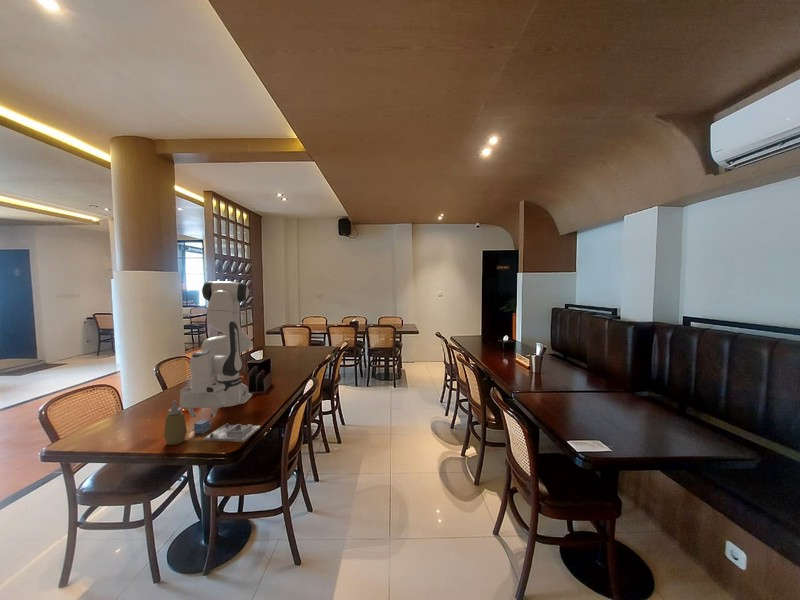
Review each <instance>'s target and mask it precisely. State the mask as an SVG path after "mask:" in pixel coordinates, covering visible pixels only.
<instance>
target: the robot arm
mask: <svg viewBox="0 0 800 600" xmlns="http://www.w3.org/2000/svg"><path fill="white" fill-rule="evenodd" d="M201 288H202V289H201V292H202V297H203V298H204V299H205V300H206V301H208V305H207V311H206V312H207V313H206V321H207V324H208V326H209V327H210V328H212V329H214V330H215V331H218V332H220V333H222V334H224V335H217V336H216V335H215V336H212V337H208V338H205V339H204V340H203V342H202V344H201V350H198V351H196V352H193V353H192V354H191V356H190V360H189V373H190V376H191V377H190V386H184V387H182V388H181V389H180V390H179V392H180V396H179V407H180V408H181V409H187V411H188V414H190V418H196V417H197V412H196V411H194V409H212V412H211V413H210V418H215V417H216V416H217V411H218V410H219V409H221V408H227V407H233V406H238V405H243V404H245V403H247V402H248V401H249V400H250V399H251V398H252V396H253V395H254V394H252V393H248V385H246V384H244V383H243V382H242V380H244V375H240V371H241V370H242V367H243V362H242V361H243V360H242V357H241V353H242V352H245V351H248V350H249V349H250V348H251V346H252V339H251V338H250V335H248V334H246V332H244V331H243V329H242V327H241V324H240V311H241V310H240V308H241V307H240V304H242V302H245V301H246V300H247V299H248V297H249V294H250V290H249V287H248V285H247V283H244V282H241V281H240V282H237V281H229V280H227V281H224V280H223V281H221V280H220V281H219V280H218V281H214V280H209V281H205V282H204V284H203V286H202V287H201ZM213 376H216V378H217V379H216V381H215V380H214V377H213Z"/></svg>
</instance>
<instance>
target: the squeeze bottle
mask: <svg viewBox="0 0 800 600" xmlns="http://www.w3.org/2000/svg"><path fill="white" fill-rule="evenodd" d="M167 413H168V414H167V415H166V416H165V422H164V431H163V432H164V434H163V437H164V440H165V441H166V445H168V446H173V445H179V444H181V443H183V442H184V441H185V439H186V436H187V433H188V431H187V424H186V419H185V418H186V417H185V413H184V412H182V408H181V407H180V406H178V403H177V400H173V401H172V403H171V408H169V409H168V410H167Z"/></svg>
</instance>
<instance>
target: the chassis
mask: <svg viewBox="0 0 800 600" xmlns="http://www.w3.org/2000/svg"><path fill="white" fill-rule="evenodd" d="M260 429H261V425H253V424H250V423H249V424H246V425H245V424H244V425H243V424H242V423H237V424H229V423H228V422H227V423H225V424H223V425H221V426H220V427H218V428H217V429H215V430H214V431H212V432H210V434H208V435H207V436H205V437H204V438H203V441H209V442H211V441H212V442H235V443H236V442H237V443H239V442H240V443H244V442H246V441H247V440H248V439H250V437H252V435H254V434H255V433H256V432H257V431H258V430H260Z"/></svg>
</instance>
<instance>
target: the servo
mask: <svg viewBox="0 0 800 600" xmlns="http://www.w3.org/2000/svg"><path fill="white" fill-rule="evenodd" d="M210 420H211V419H204V418H203V419H200V420H198V421H196V422H194V424H193V427H194V428H192V431H193V432H194V434H197V435H198V434H200V435H203V434H205V433H206V432H208V431H209V430H211V425H212V422H210Z"/></svg>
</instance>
